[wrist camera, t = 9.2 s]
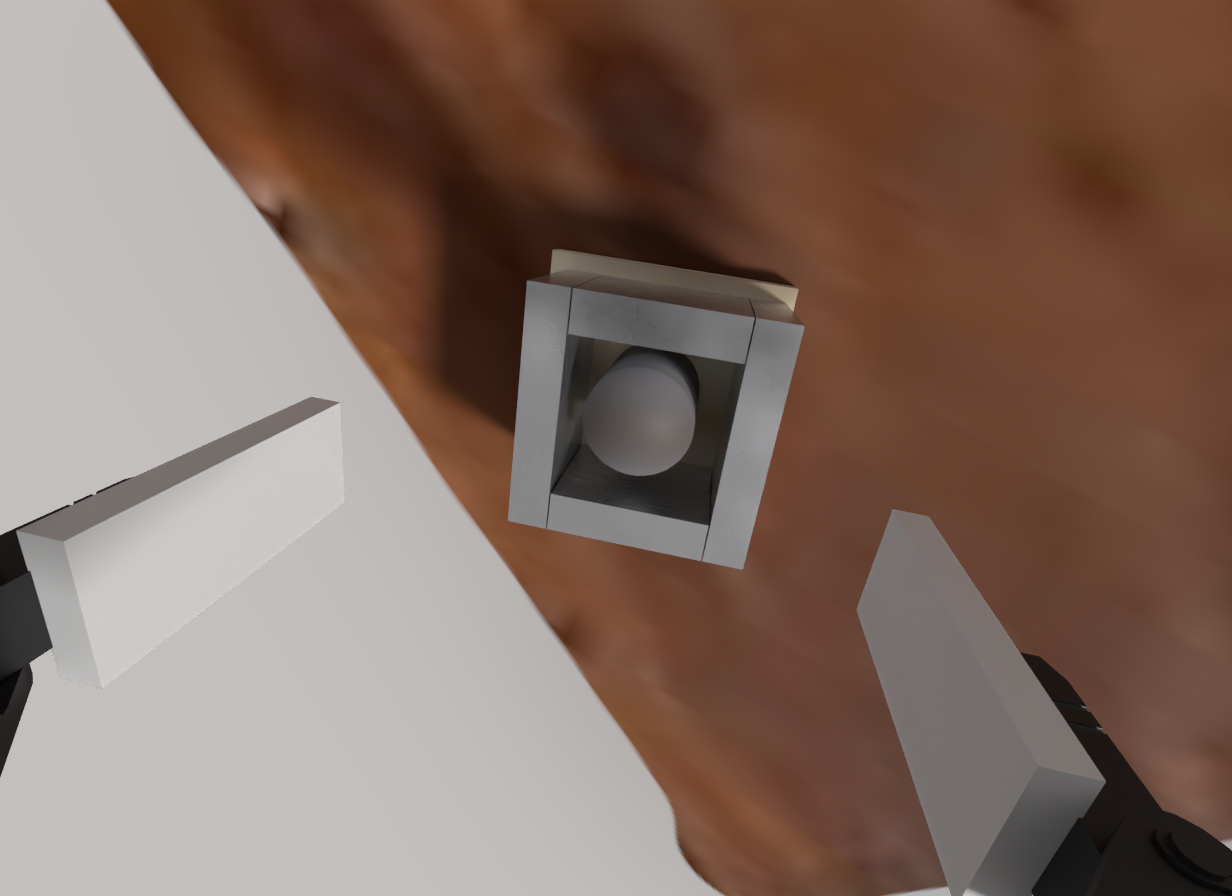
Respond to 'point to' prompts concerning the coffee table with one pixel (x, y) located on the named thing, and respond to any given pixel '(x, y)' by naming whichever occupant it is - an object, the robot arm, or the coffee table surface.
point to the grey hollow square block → (683, 494)
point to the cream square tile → (658, 378)
